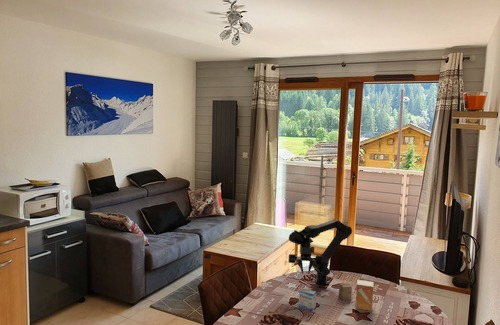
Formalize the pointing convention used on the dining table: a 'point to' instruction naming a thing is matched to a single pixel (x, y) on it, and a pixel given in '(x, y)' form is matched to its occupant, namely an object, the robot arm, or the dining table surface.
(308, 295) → the medicine box
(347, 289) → the olive beige block
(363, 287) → the small box
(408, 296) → the dining table surface
